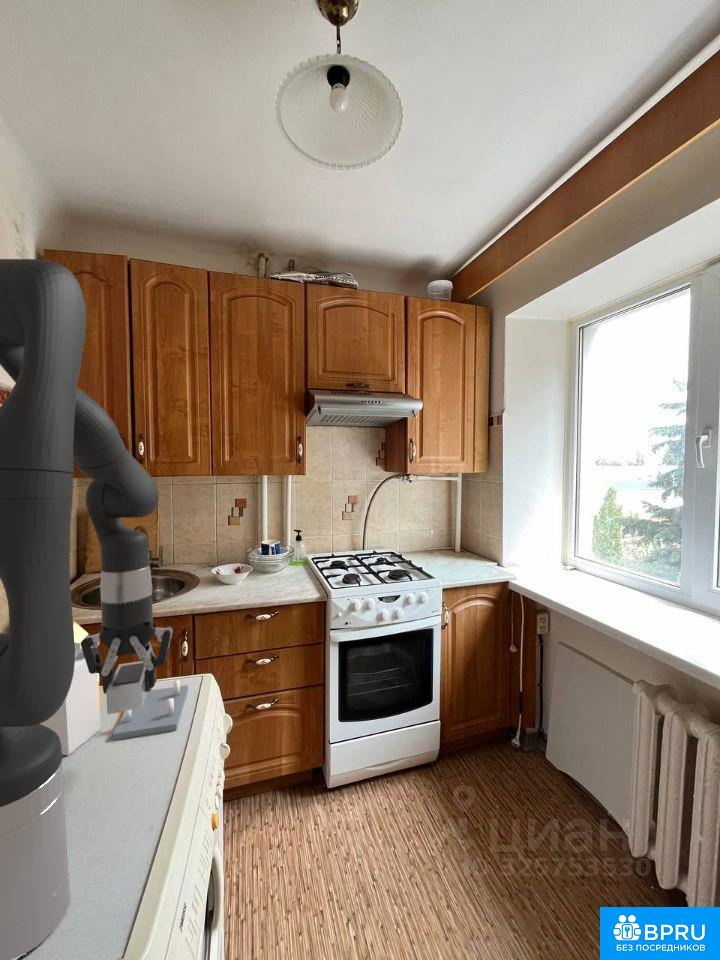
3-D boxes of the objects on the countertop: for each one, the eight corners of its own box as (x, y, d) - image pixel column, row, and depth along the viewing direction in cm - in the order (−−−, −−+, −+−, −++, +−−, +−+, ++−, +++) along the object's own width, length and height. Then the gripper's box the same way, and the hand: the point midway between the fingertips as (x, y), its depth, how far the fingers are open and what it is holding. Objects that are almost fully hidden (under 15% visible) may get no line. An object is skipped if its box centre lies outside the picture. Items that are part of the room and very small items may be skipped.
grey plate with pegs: (176, 730, 80) (175, 709, 80) (113, 740, 77) (112, 718, 77) (188, 690, 94) (187, 672, 93) (134, 697, 91) (133, 679, 91)
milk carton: (68, 756, 73) (62, 652, 72) (35, 751, 75) (29, 648, 74) (101, 730, 80) (96, 634, 79) (70, 726, 82) (65, 631, 80)
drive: (142, 707, 67) (141, 683, 67) (107, 713, 66) (106, 689, 66) (150, 680, 76) (150, 658, 76) (119, 685, 74) (119, 663, 74)
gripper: (68, 605, 65) (73, 711, 65) (168, 597, 68) (171, 697, 69) (87, 590, 72) (91, 686, 73) (176, 583, 75) (179, 675, 76)
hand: (130, 691), depth 71 cm, fingers closed on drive, 5 cm apart
